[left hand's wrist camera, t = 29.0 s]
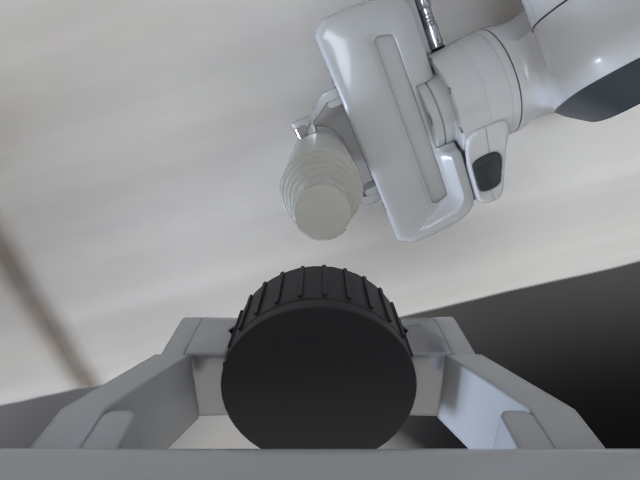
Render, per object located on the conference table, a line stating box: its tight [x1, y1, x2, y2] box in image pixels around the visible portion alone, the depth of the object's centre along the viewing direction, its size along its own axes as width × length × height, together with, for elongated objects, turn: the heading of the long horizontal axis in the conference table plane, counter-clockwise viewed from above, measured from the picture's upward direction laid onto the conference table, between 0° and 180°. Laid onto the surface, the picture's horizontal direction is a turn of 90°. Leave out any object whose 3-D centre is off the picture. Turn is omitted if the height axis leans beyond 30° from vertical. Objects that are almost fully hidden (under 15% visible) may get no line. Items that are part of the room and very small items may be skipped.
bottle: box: [280, 126, 363, 240], centre depth 30 cm, size 5×5×21 cm
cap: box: [221, 265, 417, 449], centre depth 9 cm, size 4×4×2 cm
